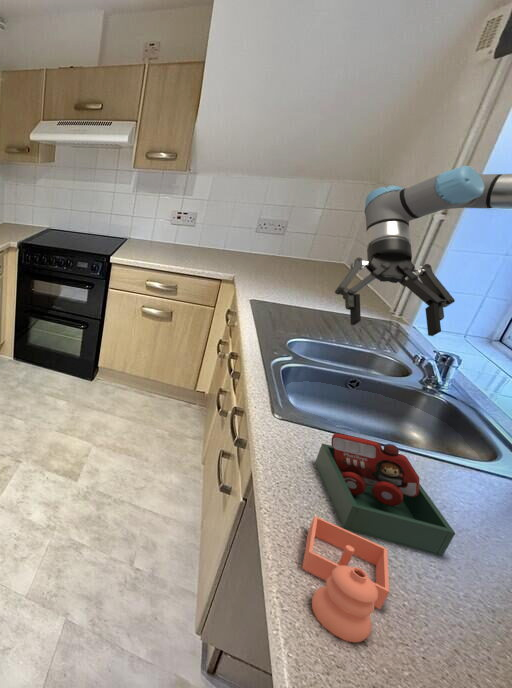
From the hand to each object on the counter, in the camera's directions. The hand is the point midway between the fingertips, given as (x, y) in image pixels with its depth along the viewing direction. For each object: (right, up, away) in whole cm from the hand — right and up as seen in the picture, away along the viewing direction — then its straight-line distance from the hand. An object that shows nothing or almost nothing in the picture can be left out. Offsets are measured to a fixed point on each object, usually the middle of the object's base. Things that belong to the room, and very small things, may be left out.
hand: (394, 328), depth 89 cm
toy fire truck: (-13, -31, -10) cm, 35 cm away
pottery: (-33, -39, -26) cm, 57 cm away
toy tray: (-15, -33, -11) cm, 38 cm away
